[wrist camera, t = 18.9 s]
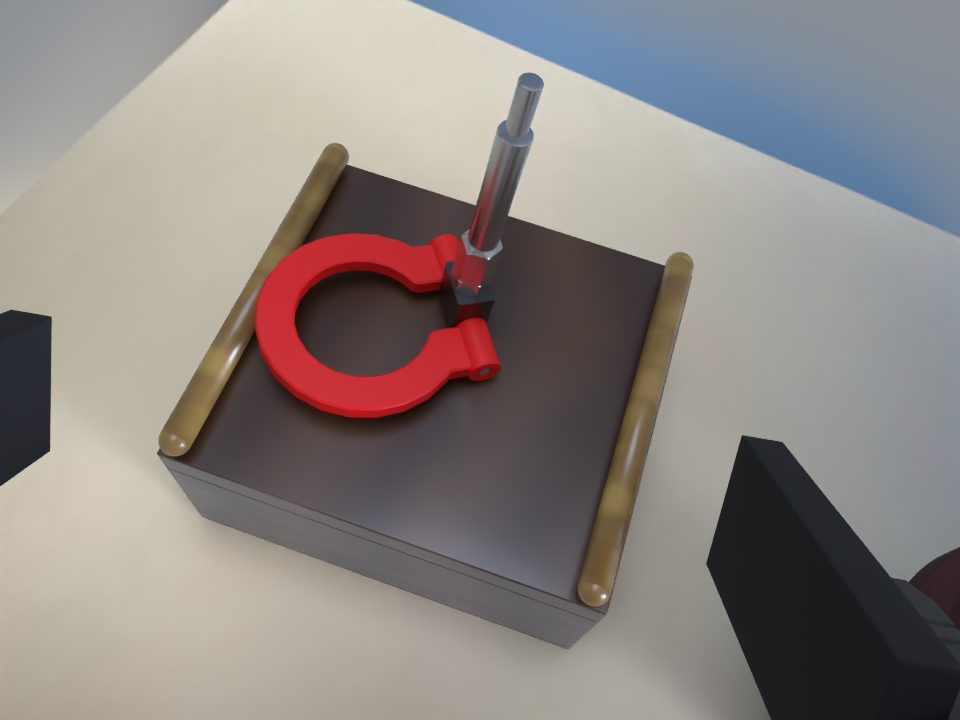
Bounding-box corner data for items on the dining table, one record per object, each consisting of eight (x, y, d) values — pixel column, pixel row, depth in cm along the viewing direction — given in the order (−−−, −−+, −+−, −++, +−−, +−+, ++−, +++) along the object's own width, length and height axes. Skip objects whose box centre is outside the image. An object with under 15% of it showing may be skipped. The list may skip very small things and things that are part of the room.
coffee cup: (785, 574, 39) (977, 462, 26) (987, 683, 38) (1300, 622, 24) (712, 778, 35) (897, 767, 22) (937, 910, 33) (1287, 986, 20)
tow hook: (276, 441, 31) (505, 398, 34) (261, 223, 20) (605, 187, 23) (241, 261, 34) (451, 236, 37) (213, -7, 23) (514, -15, 26)
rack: (200, 518, 38) (143, 441, 30) (338, 253, 46) (323, 133, 38) (567, 652, 37) (615, 609, 28) (647, 355, 44) (703, 253, 36)
